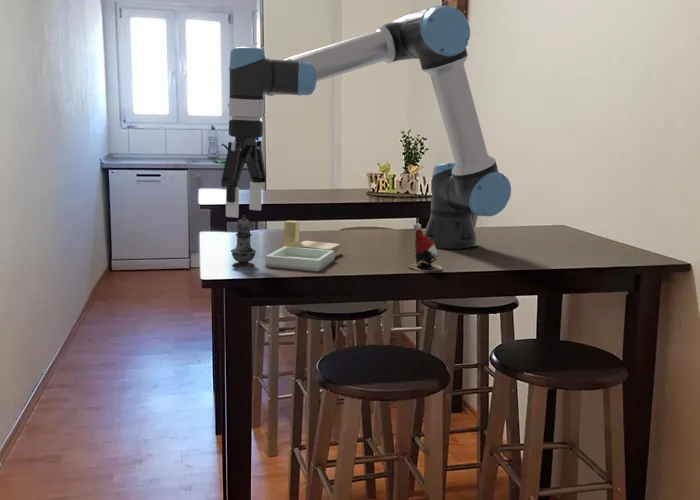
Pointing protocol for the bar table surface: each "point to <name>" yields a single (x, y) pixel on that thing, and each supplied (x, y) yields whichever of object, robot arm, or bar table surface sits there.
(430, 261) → the figurine
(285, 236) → the block
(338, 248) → the beige rectangular block
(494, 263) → the bar table surface
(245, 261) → the salt shaker
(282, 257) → the tray
